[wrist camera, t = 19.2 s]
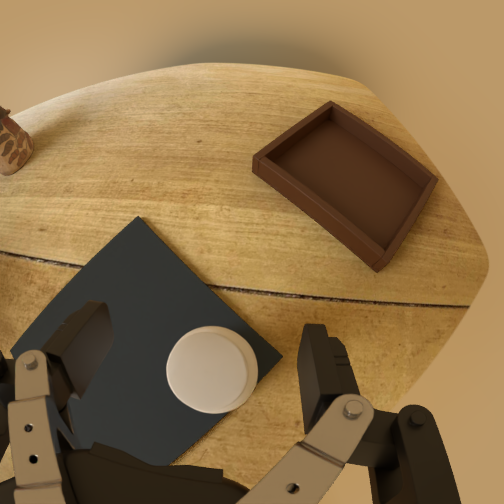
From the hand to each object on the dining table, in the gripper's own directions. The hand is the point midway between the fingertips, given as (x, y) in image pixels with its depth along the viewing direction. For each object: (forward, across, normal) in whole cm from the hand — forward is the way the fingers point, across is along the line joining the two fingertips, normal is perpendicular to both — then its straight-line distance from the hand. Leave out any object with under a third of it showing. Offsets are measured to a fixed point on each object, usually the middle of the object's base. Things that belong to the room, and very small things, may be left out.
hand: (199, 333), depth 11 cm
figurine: (+23, +34, -6) cm, 41 cm away
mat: (+7, +8, +10) cm, 15 cm away
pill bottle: (+7, 0, +9) cm, 12 cm away
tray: (+21, -11, -4) cm, 24 cm away
